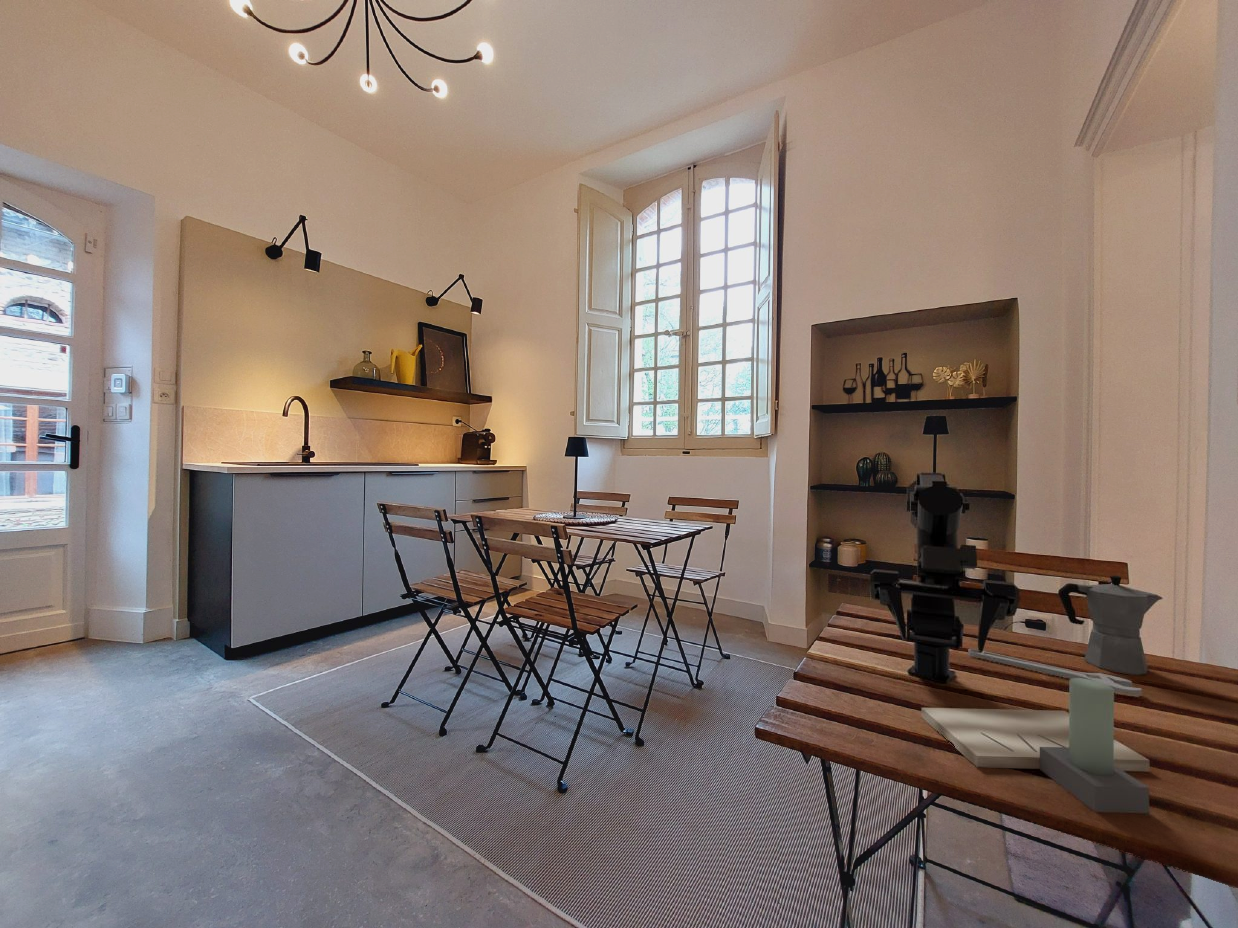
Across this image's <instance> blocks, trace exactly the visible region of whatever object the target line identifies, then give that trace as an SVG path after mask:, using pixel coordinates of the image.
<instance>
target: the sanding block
mask: <svg viewBox="0 0 1238 928" xmlns="http://www.w3.org/2000/svg"><path fill="white" fill-rule="evenodd" d="M1068 681H1069V684H1068V685H1069V690H1068V691H1069V693H1068V697H1069V698H1068V699H1069V700H1068V701H1069V702H1068V706H1069V707H1068V713H1069V747H1040V769H1039V771H1041V772H1042V773H1044V774H1045V775H1046V776H1048V777H1049V778H1050V779H1051V780H1053V781H1054V782H1056V783H1057V784H1058V785H1060V786H1061V787H1062V788H1063V789H1065V790H1066V791H1067V792H1068V793H1070V794H1071V795H1072V796H1073V797H1075V798H1076V799H1078V800H1079V801H1081V802H1082V803H1083V804H1084V805H1085V806H1087V807H1088V808H1089V809H1091V810H1092V811H1094V812H1095V813H1097V812H1098V813H1125V814H1126V813H1129V814H1149V813H1150V787H1149V786H1147V785H1146V784H1144V783H1143V782H1142V781H1139V780H1138V779H1136V778H1135V777H1133V776H1132V775H1130V774H1128V773H1127V772H1126V771H1122V770H1121V769H1119V768H1118V767H1116V766H1114V740H1115V739H1114V738H1115V734H1114V733H1115V732H1114V731H1115V727H1114V726H1115V720H1114V719H1115V694H1114V689H1113V688H1112V687H1110V686H1108V685H1106V684H1103V683H1101V682H1097V681H1094V680H1089V679H1083V678H1072V679H1070V680H1069V679H1068Z"/></svg>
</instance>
